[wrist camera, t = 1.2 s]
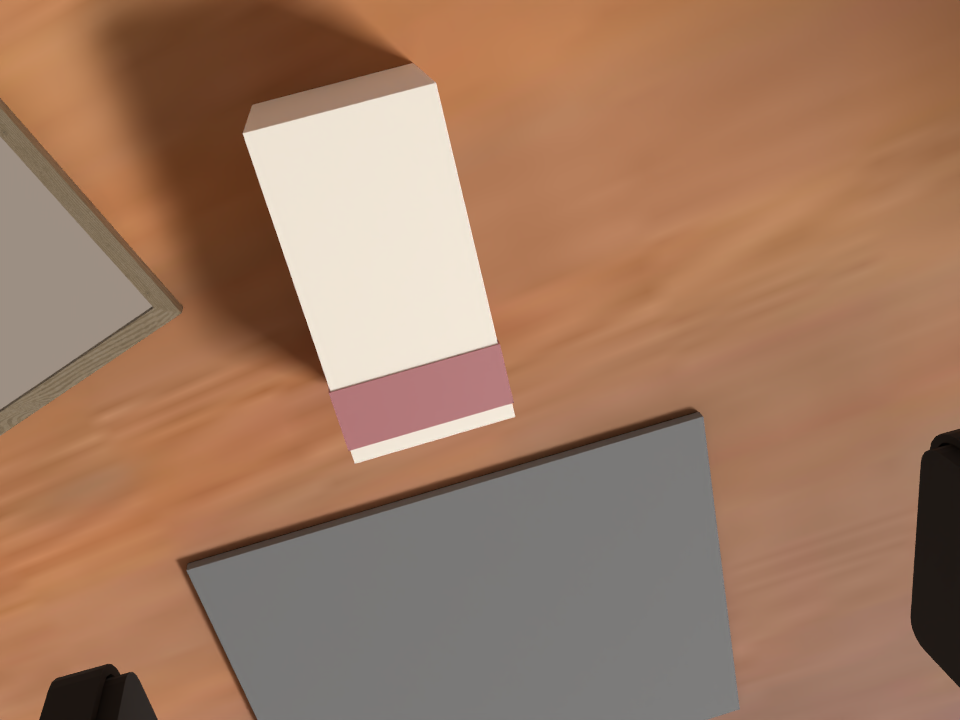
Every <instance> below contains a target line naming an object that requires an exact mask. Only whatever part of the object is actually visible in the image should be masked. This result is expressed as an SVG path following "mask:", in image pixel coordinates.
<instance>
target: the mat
mask: <svg viewBox="0 0 960 720" xmlns="http://www.w3.org/2000/svg"><path fill="white" fill-rule="evenodd" d="M187 572H188V575H189V577H190V579H191V581H192V583H193V585H194V587H195V589H196V591H197V593H198V596H199V598H200V600H201V602H202V604H203V606H204V608H205V610H206V612H207V615H208V617H209V619H210V621H211V623H212V625H213V627H214V629H215V631H216V633H217V636H218V638H219V640H220V642H221V644H222V646H223V648H224V650H225V652H226V654H227V657H228V659H229V661H230V663H231V665H232V667H233V669H234V671H235V673H236V676H237V678H238V680H239V682H240V684H241V686H242V688H243V690H244V692H245V694H246V697H247V699H248V701H249V703H250V705H251V707H252V709H253V711H254V713H255V715H256V718H257V720H708V719H711V718H714V717H717V716H720V715H723V714H726V713H729V712H732V711H735V710H738V709H740V708H739V700H738V692H737V684H736V676H735V668H734V660H733V652H732V644H731V636H730V628H729V620H728V612H727V604H726V596H725V588H724V580H723V572H722V564H721V556H720V548H719V540H718V532H717V524H716V516H715V507H714V499H713V491H712V483H711V475H710V467H709V459H708V451H707V443H706V435H705V427H704V419H703V416H702V415H701V414H700V412H696V413H693V414H690V415H686V416H683V417H680V418H676V419H673V420H670V421H666V422H663V423H659V424H656V425H653V426H649V427H646V428H643V429H639V430H636V431H632V432H629V433H626V434H622V435H619V436H616V437H612V438H609V439H606V440H602V441H599V442H595V443H592V444H589V445H585V446H582V447H579V448H575V449H572V450H569V451H565V452H562V453H558V454H555V455H552V456H548V457H545V458H542V459H538V460H535V461H532V462H528V463H525V464H521V465H518V466H515V467H511V468H508V469H505V470H501V471H498V472H495V473H491V474H488V475H484V476H481V477H478V478H474V479H471V480H468V481H464V482H461V483H458V484H454V485H451V486H447V487H444V488H441V489H437V490H434V491H431V492H427V493H424V494H420V495H417V496H414V497H410V498H407V499H404V500H400V501H397V502H394V503H390V504H387V505H383V506H380V507H377V508H373V509H370V510H367V511H363V512H360V513H357V514H353V515H350V516H346V517H343V518H340V519H336V520H333V521H330V522H326V523H323V524H320V525H316V526H313V527H309V528H306V529H303V530H299V531H296V532H293V533H289V534H286V535H283V536H279V537H276V538H272V539H269V540H266V541H262V542H259V543H256V544H252V545H249V546H246V547H242V548H239V549H235V550H232V551H229V552H225V553H222V554H219V555H215V556H212V557H209V558H205V559H202V560H198V561H195V562H192V563H188V565H187Z"/></svg>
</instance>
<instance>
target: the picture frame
mask: <svg viewBox="0 0 960 720" xmlns="http://www.w3.org/2000/svg"><path fill="white" fill-rule="evenodd" d="M182 310H183V306H182V305H181V304H180V303H179V302H178V301H177V299H176V298H175V297H174V296H173V295H172V294H171V293H170V291H169V290H168V289H167V288H166V287H165V286H164V285H163V283H162V282H161V281H160V280H159V279H158V278H157V277H156V275H155V274H154V273H153V272H152V271H151V270H150V269H149V268H148V266H147V265H146V264H145V263H144V262H143V261H142V260H141V258H140V257H139V256H138V255H137V254H136V253H135V252H134V250H133V249H132V248H131V247H130V246H129V245H128V244H127V242H126V241H125V240H124V239H123V238H122V237H121V236H120V234H119V233H118V232H117V231H116V230H115V229H114V228H113V226H112V225H111V224H110V223H109V222H108V221H107V220H106V218H105V217H104V216H103V215H102V214H101V213H100V212H99V210H98V209H97V208H96V207H95V206H94V205H93V204H92V202H91V201H90V200H89V199H88V198H87V197H86V196H85V194H84V193H83V192H82V191H81V190H80V189H79V188H78V186H77V185H76V184H75V183H74V182H73V181H72V180H71V178H70V177H69V176H68V175H67V174H66V173H65V172H64V170H63V169H62V168H61V167H60V166H59V165H58V164H57V162H56V161H55V160H54V159H53V158H52V157H51V156H50V154H49V153H48V152H47V151H46V150H45V149H44V148H43V146H42V145H41V144H40V143H39V142H38V141H37V140H36V138H35V137H34V136H33V135H32V134H31V133H30V132H29V130H28V129H27V128H26V127H25V126H24V125H23V124H22V122H21V121H20V120H19V119H18V118H17V117H16V116H15V114H14V113H13V112H12V111H11V110H10V109H9V108H8V106H7V105H6V104H5V103H4V102H3V101H2V100H1V98H0V435H2V434H3V433H5V432H6V431H8V430H9V429H11V428H12V427H14V426H15V425H17V424H18V423H20V422H21V421H23V420H24V419H26V418H27V417H29V416H30V415H31V414H33V413H34V412H36V411H37V410H39V409H40V408H42V407H43V406H45V405H46V404H48V403H49V402H51V401H52V400H54V399H55V398H57V397H58V396H60V395H61V394H63V393H64V392H66V391H67V390H68V389H70V388H71V387H73V386H74V385H76V384H77V383H79V382H80V381H82V380H83V379H85V378H86V377H88V376H89V375H91V374H92V373H94V372H95V371H97V370H98V369H100V368H101V367H103V366H104V365H105V364H107V363H108V362H110V361H111V360H113V359H114V358H116V357H117V356H119V355H120V354H122V353H123V352H125V351H126V350H128V349H129V348H131V347H132V346H134V345H135V344H137V343H138V342H140V341H141V340H142V339H144V338H145V337H147V336H148V335H150V334H151V333H153V332H154V331H156V330H157V329H159V328H160V327H162V326H163V325H165V324H166V323H168V322H169V321H171V320H172V319H174V318H175V317H176V316H178V315H179V314H181V313H182Z"/></svg>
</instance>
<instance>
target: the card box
mask: <svg viewBox="0 0 960 720" xmlns="http://www.w3.org/2000/svg"><path fill="white" fill-rule="evenodd" d="M243 136H244V139H245V142H246V145H247V148H248V151H249V154H250V157H251V159H252V162H253V165H254V168H255V171H256V174H257V177H258V180H259V183H260V186H261V189H262V192H263V195H264V198H265V201H266V204H267V206H268V209H269V212H270V215H271V218H272V221H273V224H274V227H275V230H276V233H277V236H278V239H279V242H280V245H281V248H282V251H283V254H284V256H285V259H286V262H287V265H288V268H289V271H290V274H291V277H292V280H293V283H294V286H295V289H296V292H297V295H298V298H299V301H300V303H301V306H302V309H303V312H304V315H305V318H306V321H307V324H308V327H309V330H310V333H311V336H312V339H313V342H314V345H315V348H316V351H317V353H318V356H319V359H320V362H321V365H322V368H323V371H324V374H325V377H326V380H327V383H328V387H329V395H330V398H331V401H332V404H333V407H334V409H335V412H336V415H337V418H338V421H339V424H340V427H341V430H342V433H343V436H344V439H345V442H346V445H347V448H348V450H349V451H351V453H352V456H353V459H354V462H355V463H359V462H362V461H366V460H369V459H372V458H376V457H379V456H383V455H386V454H389V453H393V452H396V451H400V450H403V449H407V448H410V447H413V446H417V445H420V444H424V443H427V442H430V441H434V440H437V439H441V438H444V437H447V436H451V435H454V434H458V433H461V432H464V431H468V430H471V429H475V428H478V427H482V426H485V425H488V424H492V423H495V422H499V421H502V420H505V419H509V418H512V417H515V414H514V410H513V406H512V403H514V402H513V398H512V393H511V389H510V385H509V381H508V376H507V372H506V368H505V364H504V359H503V355H502V351H501V347H500V343H499V341H498V340H497V338H496V334H495V330H494V325H493V321H492V317H491V313H490V309H489V304H488V300H487V296H486V292H485V288H484V283H483V279H482V275H481V271H480V266H479V262H478V258H477V254H476V250H475V245H474V241H473V237H472V233H471V228H470V224H469V220H468V216H467V212H466V207H465V203H464V199H463V195H462V191H461V186H460V182H459V178H458V174H457V169H456V165H455V161H454V157H453V153H452V148H451V144H450V140H449V136H448V131H447V127H446V123H445V119H444V115H443V110H442V106H441V102H440V98H439V94H438V89H437V85H436V82H434V81H433V80H432V79H431V78H430V77H429V76H428V75H426V74H425V73H424V72H423V71H422V70H421V69H420V68H418V67H417V66H416V65H415V64H414V63H411V64H407V65H403V66H399V67H395V68H392V69H388V70H384V71H380V72H376V73H372V74H369V75H365V76H361V77H357V78H353V79H349V80H346V81H342V82H338V83H334V84H330V85H326V86H322V87H319V88H315V89H311V90H307V91H303V92H299V93H296V94H292V95H288V96H284V97H280V98H276V99H273V100H269V101H265V102H261V103H257V104H253V105H252V107H251V110H250V113H249V116H248V119H247V122H246V125H245V128H244V131H243Z"/></svg>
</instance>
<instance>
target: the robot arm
mask: <svg viewBox="0 0 960 720" xmlns="http://www.w3.org/2000/svg"><path fill="white" fill-rule="evenodd" d="M911 625H912V629H913V632H914V634H915V636H916V638H917V640H918V642H919V644H920V645H921V646H922V648H923V649H924V650H925V651H926V652H927V653H928V654H929V655H930V657H931V658H932V659H933V660H934V661H935V662H936V663H937V664H938V665H939V666H940V667H941V668H942V669H943V670H944V671H945V672H946V674H947V675H948V676H949V677H950V678H951V679H952V680H953V681H954V682H955V683H956V684H957V685H958V686H959V687H960V429H957V430H954V431H950V432H946V433H943V434H940V435H938V436H936V437H935V438H934V439H933V441H932V442H931V447H930V450H928V451H926V452H925V453H924V454H923V456H922V460H921V470H920V484H919V499H918V514H917V529H916V544H915V559H914V574H913V589H912V604H911ZM39 720H158V719H157V717H156V715H155V713H154V711H153V708H152V706H151V704H150V702H149V700H148V698H147V696H146V693H145V691H144V689H143V687H142V685H141V683H140V680H139V679H138V677H137V675H136V674H134V673H133V672H129V673H125V674H122V675H120V673H119V672H118V670H117V668H116V667H114V666H113V665H112V664H106V665H103V666H99V667H95V668H92V669H88V670H84V671H81V672H77V673H74V674H70V675H66V676H63V677H59V678H56V679H55V680H54V681H53V682H52V683H51V686H50V688H49V690H48V693H47V696H46V700H45V703H44V706H43V710H42V713H41V716H40V719H39Z"/></svg>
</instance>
